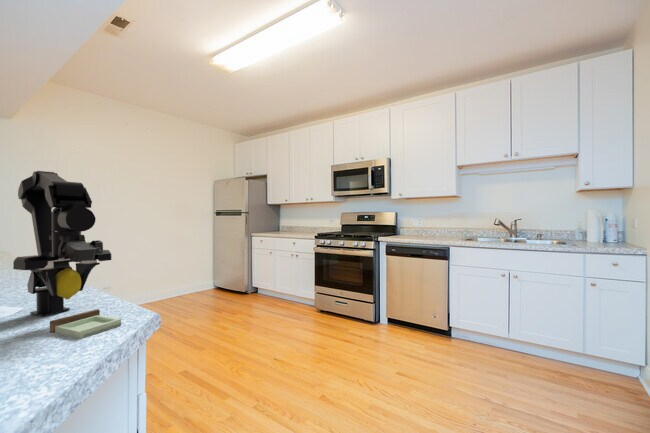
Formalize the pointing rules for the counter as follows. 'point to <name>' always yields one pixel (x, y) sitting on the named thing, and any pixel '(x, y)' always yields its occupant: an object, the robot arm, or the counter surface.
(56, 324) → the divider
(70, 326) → the dish
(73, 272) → the lemon
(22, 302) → the counter surface
